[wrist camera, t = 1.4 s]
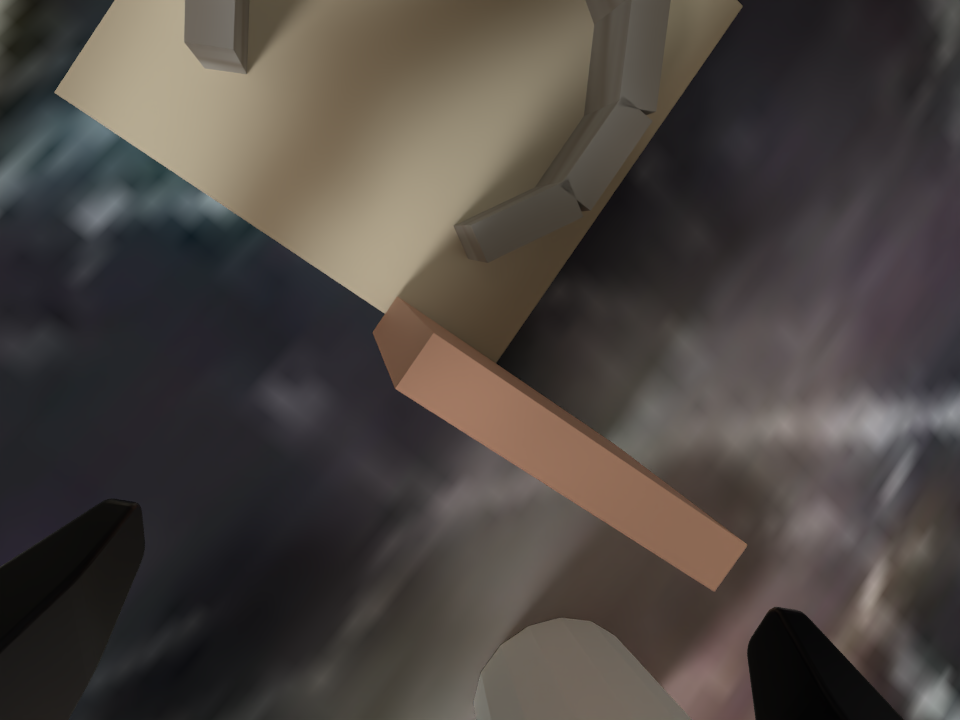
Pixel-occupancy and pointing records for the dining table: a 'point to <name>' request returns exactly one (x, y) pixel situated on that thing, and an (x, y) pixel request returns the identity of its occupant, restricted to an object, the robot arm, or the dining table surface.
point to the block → (550, 444)
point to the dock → (403, 129)
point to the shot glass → (569, 678)
